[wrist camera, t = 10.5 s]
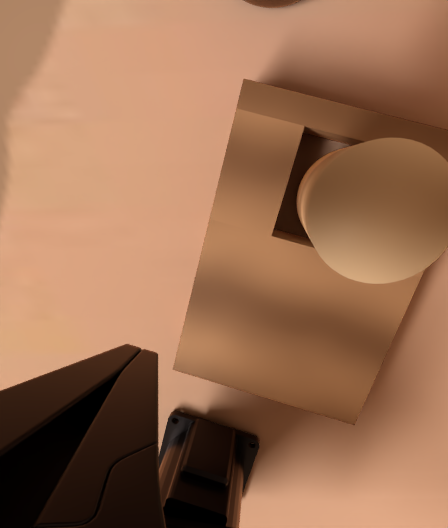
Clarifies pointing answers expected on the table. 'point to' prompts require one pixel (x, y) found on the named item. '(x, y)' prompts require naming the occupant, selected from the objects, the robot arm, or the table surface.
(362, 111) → the board
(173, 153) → the table surface
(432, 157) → the peg
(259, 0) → the supplement bottle
